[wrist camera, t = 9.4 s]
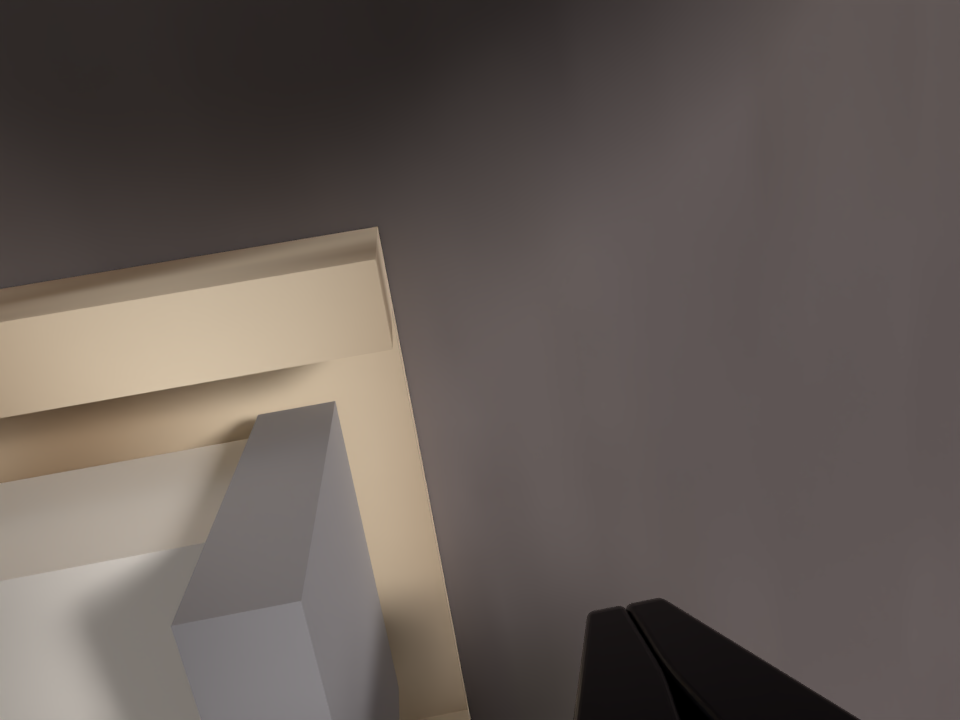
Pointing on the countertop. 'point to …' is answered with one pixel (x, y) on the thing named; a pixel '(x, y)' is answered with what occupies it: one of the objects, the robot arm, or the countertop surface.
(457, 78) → the countertop surface
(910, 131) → the countertop surface
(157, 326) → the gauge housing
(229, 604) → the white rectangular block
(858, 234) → the countertop surface
